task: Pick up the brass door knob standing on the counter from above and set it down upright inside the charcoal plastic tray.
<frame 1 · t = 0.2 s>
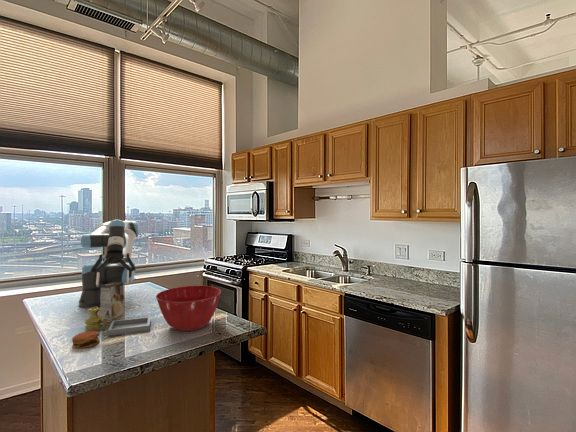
hand: (112, 284, 167), 16 cm above the countertop, tool tilted 35°, fingers open, 13 cm apart
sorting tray: (130, 328, 150), on the countertop
brass door knob: (94, 329, 150), on the countertop
mixing bowl: (189, 326, 153), on the countertop
coffee box: (112, 316, 168), on the countertop
burger: (86, 345, 133), on the countertop
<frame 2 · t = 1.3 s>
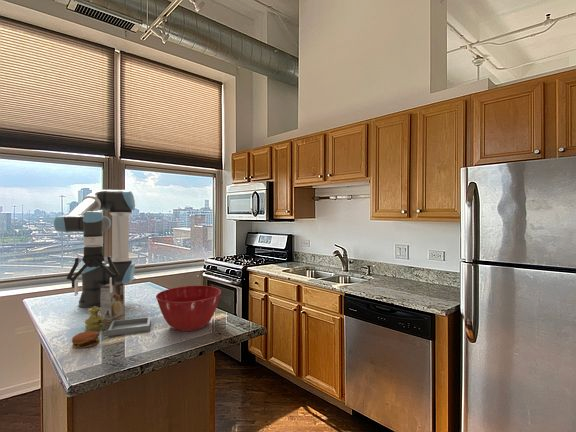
hand: (94, 293, 149), 16 cm above the countertop, tool pointing down, fingers open, 13 cm apart
nothing on the countertop moved.
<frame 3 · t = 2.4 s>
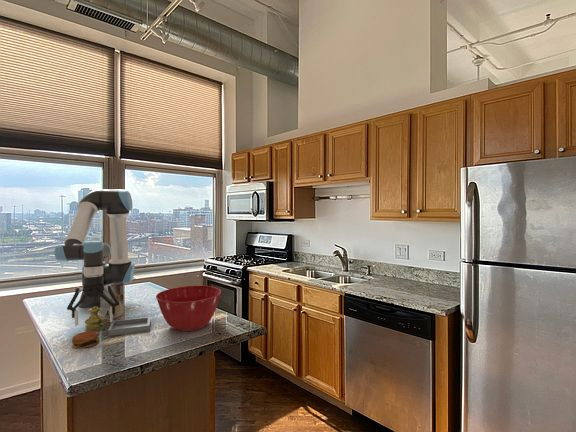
hand: (94, 323, 150), 3 cm above the countertop, tool pointing down, fingers open, 13 cm apart
nothing on the countertop moved.
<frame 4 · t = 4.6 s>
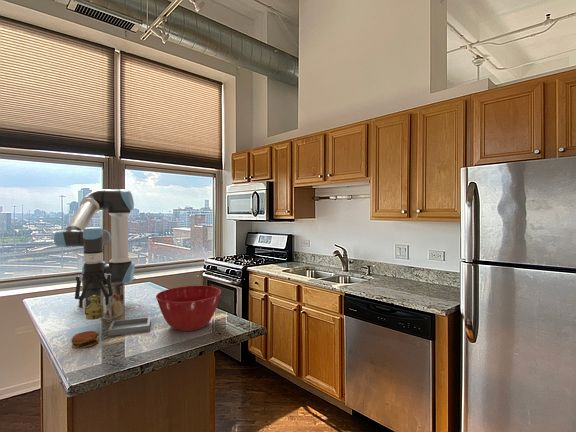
hand: (94, 312, 150), 7 cm above the countertop, tool pointing down, fingers closed on brass door knob, 7 cm apart
brass door knob: (94, 317, 150), point 5 cm above the countertop, touching gripper
everything else where it was.
when the fingers open (3 cm above the countertop, at t = 9.5 s): brass door knob stays where it is, resting on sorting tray.
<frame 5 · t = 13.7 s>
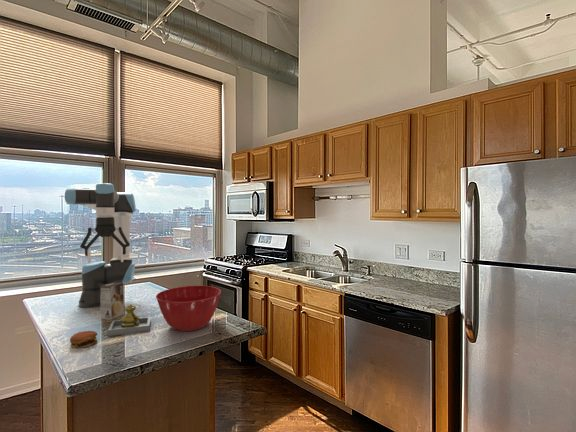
hand: (106, 262, 156), 29 cm above the countertop, tool pointing down, fingers open, 13 cm apart
brass door knob: (130, 327, 150), resting on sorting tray
at the end: brass door knob inside the target area on the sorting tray (0.0 cm from its centre), point 0.3 cm above the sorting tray's base; brass door knob tilted 0°; the gripper is holding nothing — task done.
